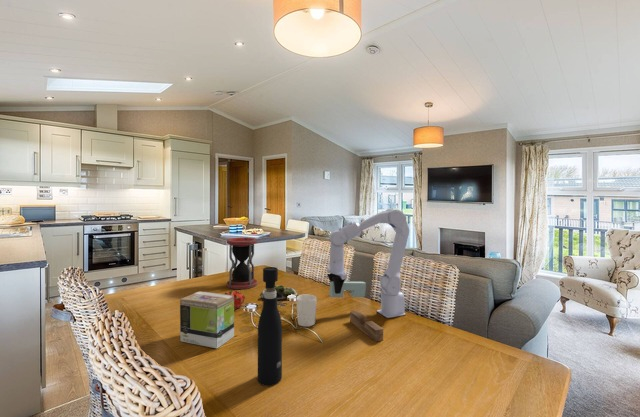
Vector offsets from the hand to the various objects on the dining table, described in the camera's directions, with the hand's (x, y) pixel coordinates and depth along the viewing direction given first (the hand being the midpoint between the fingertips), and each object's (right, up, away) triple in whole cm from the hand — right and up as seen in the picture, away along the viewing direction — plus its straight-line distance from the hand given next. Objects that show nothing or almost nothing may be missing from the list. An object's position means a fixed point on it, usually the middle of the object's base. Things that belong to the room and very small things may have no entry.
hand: (336, 292), depth 128 cm
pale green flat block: (+5, -2, +2) cm, 6 cm away
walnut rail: (+10, -10, -14) cm, 20 cm away
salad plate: (-27, -9, +23) cm, 37 cm away
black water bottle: (-20, -11, -45) cm, 50 cm away
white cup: (-12, -10, -8) cm, 18 cm away
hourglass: (-49, -7, +40) cm, 64 cm away
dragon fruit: (-44, -9, +6) cm, 46 cm away
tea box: (-45, -10, -23) cm, 51 cm away
